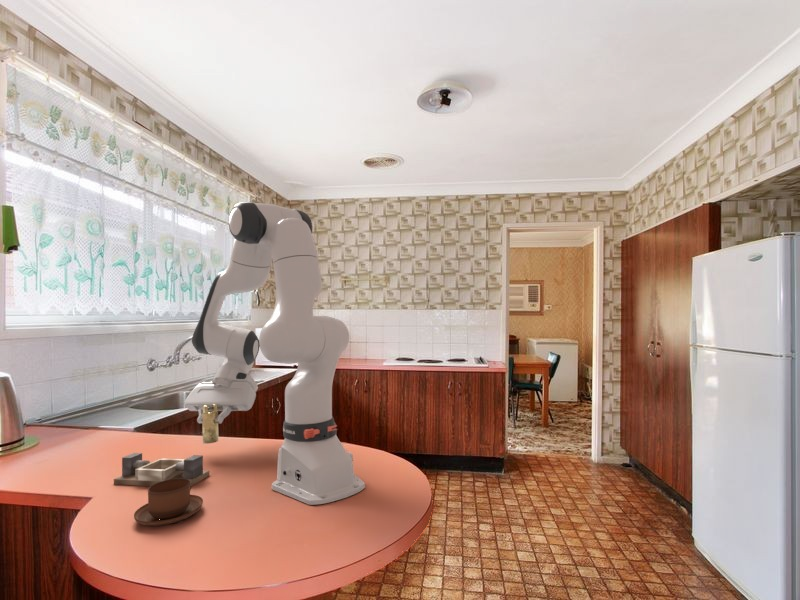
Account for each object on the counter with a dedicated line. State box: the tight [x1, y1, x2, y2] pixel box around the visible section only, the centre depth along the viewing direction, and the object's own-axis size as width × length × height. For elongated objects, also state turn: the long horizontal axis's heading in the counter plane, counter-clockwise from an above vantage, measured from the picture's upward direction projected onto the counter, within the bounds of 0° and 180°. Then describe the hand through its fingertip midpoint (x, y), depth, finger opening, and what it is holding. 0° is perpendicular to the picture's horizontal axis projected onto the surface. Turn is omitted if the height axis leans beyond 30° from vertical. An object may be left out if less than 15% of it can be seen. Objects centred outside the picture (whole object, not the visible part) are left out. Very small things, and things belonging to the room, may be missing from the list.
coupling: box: [201, 404, 219, 444], centre depth 118 cm, size 4×4×10 cm
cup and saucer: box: [133, 478, 204, 527], centre depth 83 cm, size 12×12×6 cm
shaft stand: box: [113, 452, 210, 487], centre depth 103 cm, size 20×8×6 cm, turn 79°
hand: (208, 422), depth 117 cm, fingers closed on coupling, 4 cm apart
